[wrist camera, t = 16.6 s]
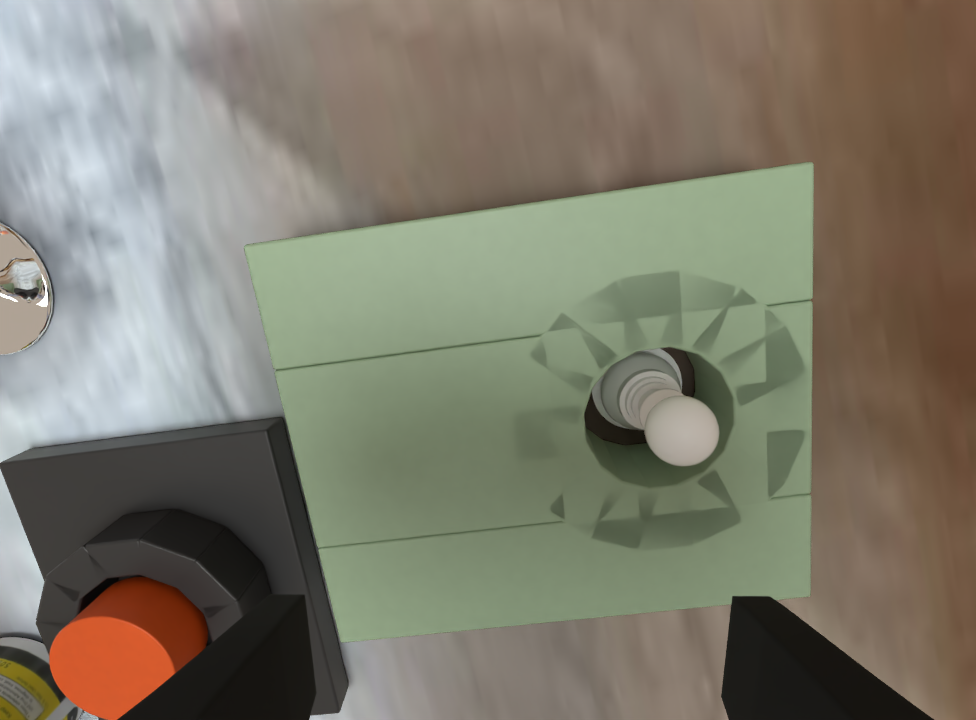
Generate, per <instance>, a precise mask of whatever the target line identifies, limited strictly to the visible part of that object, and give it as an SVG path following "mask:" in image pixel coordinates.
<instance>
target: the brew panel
mask: <svg viewBox="0 0 976 720" xmlns="http://www.w3.org/2000/svg"><path fill="white" fill-rule="evenodd" d="M0 469H1V472H2V474H3V477H4V479H5V482H6V484H7V487H8V489H9V492H10V495H11V497H12V500H13V502H14V505H15V507H16V510H17V512H18V515H19V517H20V520H21V523H22V525H23V528H24V530H25V533H26V535H27V538H28V540H29V543H30V545H31V548H32V551H33V553H34V556H35V558H36V561H37V563H38V566H39V568H40V571H41V574H42V576H43V579H44V581H45V582H44V587H43V591H42V596H41V600H40V605H39V609H38V614H37V618H36V620H37V621H36V625H37V627H38V630H39V632H40V635H41V637H42V640H43V642H44V645H45V647H46V650H47V652H48V655H50V649H51V646H52V643H53V641H54V639H55V637H56V636H57V634H58V633H59V632H60V631H61V630H62V629H63V628H64V627H65V626H66V625H67V624H68V623H70V622H71V621H72V620H73V619H74V618H75V617H76V616H77V615H78V614H79V613H81V612H82V611H83V610H84V609H85V608H86V607H87V606H88V605H89V604H90V603H92V602H93V601H94V600H95V599H96V598H97V597H98V596H99V595H100V594H101V593H103V592H104V591H105V590H106V589H107V588H108V587H109V586H111V585H112V584H114V583H116V582H118V581H121V580H124V579H127V578H133V577H148V578H150V579H153V580H156V581H159V582H162V583H164V584H167V585H170V586H173V587H176V588H177V589H179V590H180V591H181V592H182V593H183V594H184V595H185V596H186V597H187V598H188V599H189V600H190V601H191V602H192V603H193V604H194V605H195V606H196V607H197V608H198V609H199V610H200V611H201V612H202V613H203V614H204V617H205V619H206V623H207V627H208V640H207V644H206V647H208V646H209V645H210V644H211V643H212V642H213V641H215V640H216V639H217V638H218V637H219V636H220V635H222V634H223V633H224V632H225V631H226V630H228V629H229V628H230V627H231V626H232V625H233V624H235V623H236V622H237V621H238V620H239V619H240V618H242V617H243V616H244V615H245V614H246V613H248V612H249V611H250V610H251V609H252V608H254V607H255V606H256V605H257V604H258V603H260V602H261V601H262V600H264V599H265V598H266V597H267V596H269V595H270V594H294V595H305V599H306V608H307V616H308V625H309V633H310V641H311V650H312V658H313V667H314V675H315V684H316V692H317V693H316V697H315V700H314V704H313V707H312V711H311V714H310V716H311V715H322V714H333V713H339V712H340V710H341V707H342V704H343V701H344V698H345V695H346V692H347V689H348V682H347V678H346V674H345V670H344V666H343V662H342V658H341V654H340V650H339V646H338V642H337V638H336V634H335V630H334V626H333V622H332V618H331V614H330V609H329V605H328V601H327V597H326V593H325V589H324V585H323V581H322V577H321V573H320V569H319V565H318V561H317V557H316V553H315V549H314V545H313V541H312V537H311V533H310V529H309V525H308V521H307V517H306V513H305V509H304V504H303V500H302V496H301V492H300V488H299V484H298V480H297V476H296V472H295V468H294V464H293V460H292V456H291V452H290V448H289V444H288V440H287V436H286V432H285V428H284V424H283V420H282V418H273V419H265V420H257V421H249V422H241V423H233V424H225V425H217V426H209V427H201V428H193V429H185V430H177V431H169V432H161V433H154V434H146V435H138V436H130V437H122V438H114V439H106V440H98V441H90V442H82V443H74V444H66V445H58V446H50V447H42V448H34V449H29V450H26V451H24V452H22V453H20V454H18V455H16V456H14V457H11V458H9V459H7V460H5V461H3V462H1V463H0ZM98 719H99V720H107V719H104V718H100V717H98Z"/></svg>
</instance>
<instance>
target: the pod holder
mask: <svg viewBox="0 0 976 720" xmlns="http://www.w3.org/2000/svg"><path fill="white" fill-rule="evenodd" d="M813 192H814V165H813V163H812V162H804V163H797V164H790V165H784V166H777V167H770V168H763V169H756V170H750V171H743V172H736V173H729V174H722V175H716V176H709V177H702V178H695V179H688V180H682V181H675V182H668V183H661V184H654V185H648V186H641V187H634V188H627V189H620V190H614V191H607V192H600V193H593V194H586V195H580V196H573V197H566V198H559V199H552V200H546V201H539V202H532V203H525V204H518V205H512V206H505V207H498V208H491V209H484V210H478V211H471V212H464V213H457V214H450V215H444V216H437V217H430V218H423V219H416V220H410V221H403V222H396V223H389V224H382V225H376V226H369V227H362V228H355V229H348V230H342V231H335V232H328V233H321V234H314V235H308V236H301V237H294V238H287V239H280V240H273V241H267V242H260V243H253V244H247V245H245V246H244V250H245V255H246V259H247V263H248V267H249V271H250V275H251V279H252V283H253V287H254V291H255V295H256V299H257V303H258V307H259V311H260V316H261V320H262V324H263V328H264V332H265V336H266V340H267V344H268V348H269V352H270V356H271V360H272V364H273V368H274V369H276V371H275V377H276V381H277V385H278V390H279V394H280V398H281V402H282V406H283V410H284V414H285V418H286V422H287V426H288V430H289V434H290V438H291V442H292V446H293V451H294V455H295V459H296V463H297V467H298V471H299V475H300V479H301V483H302V487H303V491H304V495H305V499H306V503H307V507H308V512H309V516H310V520H311V524H312V528H313V532H314V536H315V540H316V544H317V547H319V549H318V552H319V556H320V560H321V564H322V568H323V572H324V576H325V580H326V584H327V588H328V592H329V597H330V601H331V605H332V609H333V613H334V617H335V621H336V625H337V629H338V633H339V637H340V641H341V642H342V643H344V642H355V641H365V640H375V639H385V638H395V637H405V636H415V635H426V634H436V633H446V632H456V631H466V630H476V629H487V628H497V627H507V626H517V625H527V624H537V623H548V622H558V621H568V620H578V619H588V618H598V617H608V616H619V615H629V614H639V613H649V612H659V611H669V610H680V609H690V608H700V607H710V606H720V605H730V604H732V596H770V597H772V598H773V599H774V600H781V599H791V598H801V597H809V596H810V595H811V495H810V493H811V463H812V324H813V303H812V301H810V299H812V297H813ZM667 347H671V348H675V349H679V350H683V351H685V352H686V354H687V356H688V358H689V360H690V362H691V364H692V366H693V367H694V374H695V394H694V396H693V398H695V399H698V400H699V401H701V402H703V403H704V404H706V405H707V406H708V407H709V408H710V409H711V411H712V412H713V413H714V415H715V417H716V419H717V422H718V425H719V440H718V443H717V446H716V448H715V450H714V451H713V453H712V454H711V455H710V456H709V457H708V458H707V459H706V460H704V461H702V462H701V463H698V464H696V465H691V466H675V465H672V464H669V463H666V462H664V461H663V460H661V459H660V458H658V457H657V456H656V455H655V454H654V453H653V452H652V450H651V449H650V447H649V445H648V443H643V444H634V445H626V446H624V445H620V444H616V443H612V442H608V441H604V440H602V439H601V438H599V437H598V436H597V435H595V434H594V433H593V432H591V431H590V430H589V429H587V428H586V427H585V419H584V413H585V410H586V407H587V404H588V401H589V397H590V394H591V391H592V388H593V387H594V386H595V384H596V383H597V382H598V381H599V380H600V379H601V377H602V376H603V375H604V374H605V373H606V371H607V370H608V369H609V368H610V367H611V366H612V365H613V364H615V363H617V362H619V361H621V360H623V359H624V358H626V357H628V356H630V355H632V354H634V353H635V352H637V351H643V350H651V349H659V348H667Z"/></svg>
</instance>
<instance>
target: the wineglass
mask: <svg viewBox="0 0 976 720" xmlns="http://www.w3.org/2000/svg"><path fill="white" fill-rule="evenodd" d="M52 309H53V294H52V287H51V282H50V279H49V276H48V273H47V271H46V269H45V267H44V265H43V263H42V261H41V259H40V258H39V256H38V255H37V253H36V252H35V250H34V249H33V248H32V247H31V246H30V245H29V243H28V242H27V241H26V240H25V239H24V238H23V237H21V236H20V235H19V234H18V233H16V232H15V231H14V230H12V229H11V228H10V227H8V226H6V225H4V224H2V223H0V355H9V354H13V353H17V352H20V351H22V350H25V349H27V348H28V347H30V346H32V345H33V344H34V343H35V342H36V341H38V339H39V338H40V337H41V336H42V334H43V333H44V331H45V330H46V329H47V326H48V324H49V321H50V318H51V315H52Z"/></svg>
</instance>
